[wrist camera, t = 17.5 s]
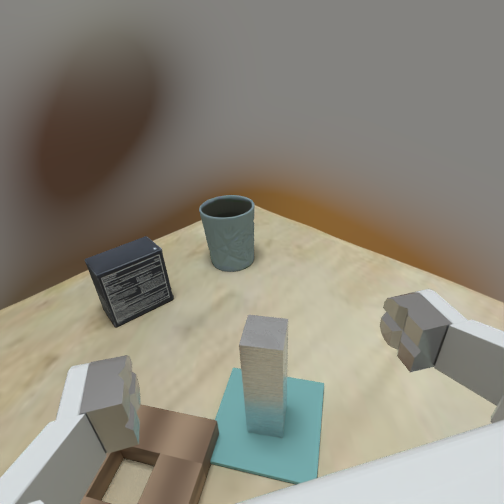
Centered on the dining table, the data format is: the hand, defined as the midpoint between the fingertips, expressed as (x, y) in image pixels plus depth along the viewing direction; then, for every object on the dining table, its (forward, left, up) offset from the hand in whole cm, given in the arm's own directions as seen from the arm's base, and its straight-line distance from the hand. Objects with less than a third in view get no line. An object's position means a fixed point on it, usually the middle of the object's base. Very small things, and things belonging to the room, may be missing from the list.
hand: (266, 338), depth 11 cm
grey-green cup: (-18, +47, -30) cm, 59 cm away
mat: (-4, +15, -30) cm, 34 cm away
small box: (-30, +31, -30) cm, 53 cm away
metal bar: (-4, +15, -29) cm, 33 cm away
